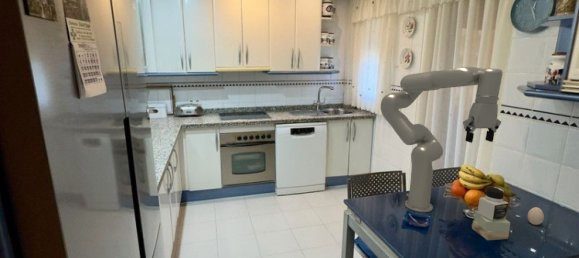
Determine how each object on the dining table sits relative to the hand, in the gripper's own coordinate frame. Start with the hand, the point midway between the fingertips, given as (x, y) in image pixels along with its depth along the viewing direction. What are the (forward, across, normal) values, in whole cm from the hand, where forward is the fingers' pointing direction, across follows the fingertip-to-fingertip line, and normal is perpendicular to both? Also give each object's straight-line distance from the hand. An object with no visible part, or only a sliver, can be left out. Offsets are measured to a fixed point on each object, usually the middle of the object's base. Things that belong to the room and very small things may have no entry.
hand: (478, 141), depth 127 cm
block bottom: (+38, -4, +9) cm, 39 cm away
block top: (+34, -4, +9) cm, 35 cm away
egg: (+37, -30, +6) cm, 48 cm away
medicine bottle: (+30, -4, +9) cm, 31 cm away
